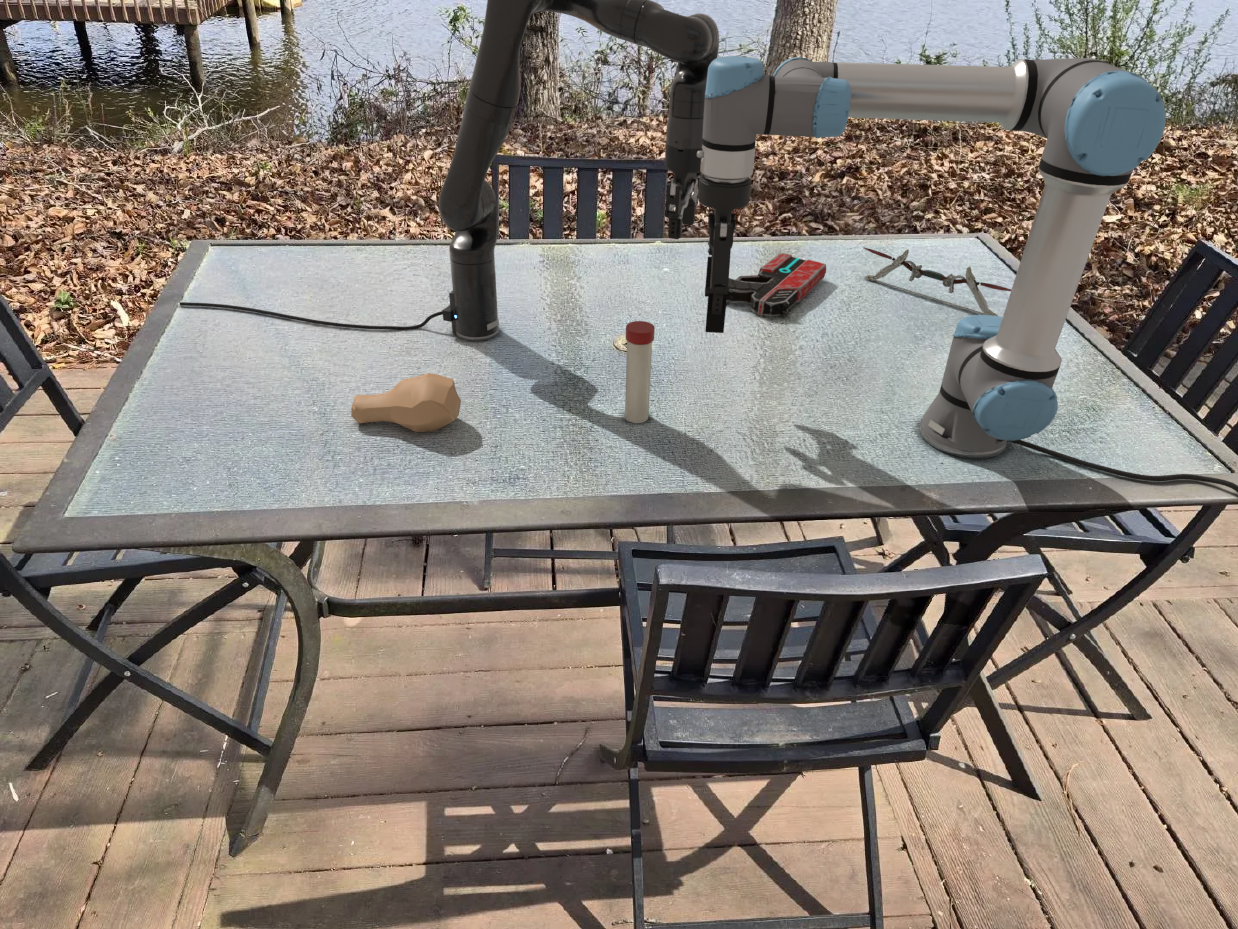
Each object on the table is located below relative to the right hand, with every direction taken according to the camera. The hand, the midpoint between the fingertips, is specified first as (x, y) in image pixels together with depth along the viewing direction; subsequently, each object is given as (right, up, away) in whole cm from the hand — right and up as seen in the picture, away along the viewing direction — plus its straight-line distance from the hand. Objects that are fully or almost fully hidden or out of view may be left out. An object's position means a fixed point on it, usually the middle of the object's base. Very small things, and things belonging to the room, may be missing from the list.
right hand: (713, 313), depth 137 cm
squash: (-53, -16, +23) cm, 60 cm away
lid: (-11, 0, +17) cm, 20 cm away
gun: (+23, +19, +79) cm, 84 cm away
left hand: (-3, +20, +26) cm, 33 cm away
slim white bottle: (-12, -15, +27) cm, 33 cm away
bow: (+61, +17, +78) cm, 100 cm away
